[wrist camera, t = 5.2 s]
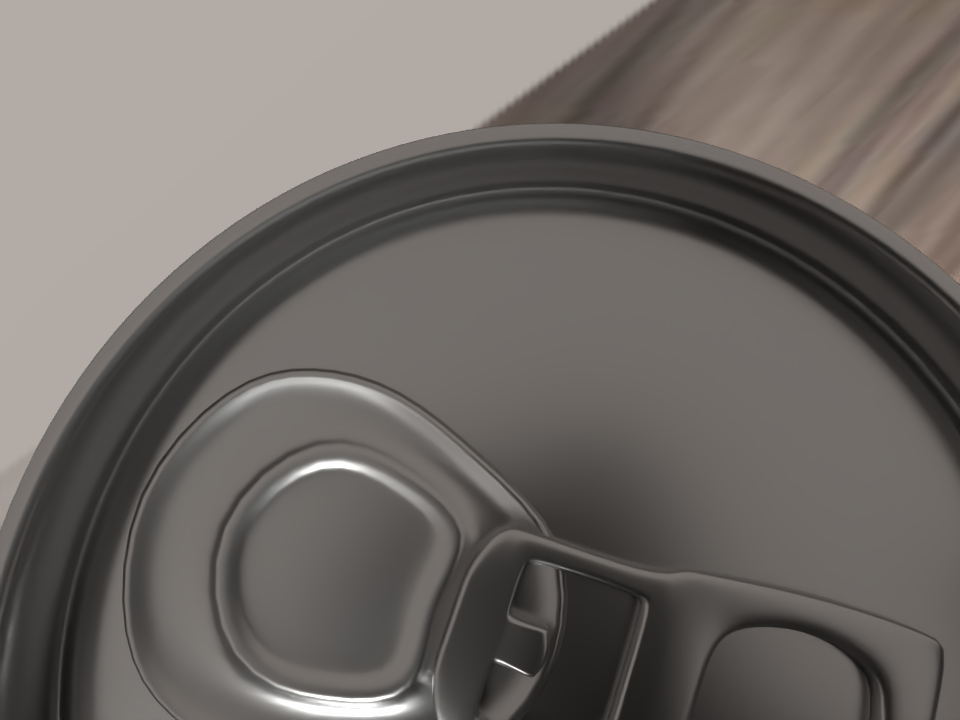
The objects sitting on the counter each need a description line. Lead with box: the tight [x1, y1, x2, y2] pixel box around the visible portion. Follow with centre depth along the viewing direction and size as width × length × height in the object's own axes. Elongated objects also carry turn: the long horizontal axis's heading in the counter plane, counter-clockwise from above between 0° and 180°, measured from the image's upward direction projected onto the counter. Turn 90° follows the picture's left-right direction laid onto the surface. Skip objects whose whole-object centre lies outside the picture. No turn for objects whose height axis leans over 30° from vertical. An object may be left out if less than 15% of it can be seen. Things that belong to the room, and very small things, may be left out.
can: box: [0, 123, 960, 720], centre depth 9 cm, size 6×6×12 cm
